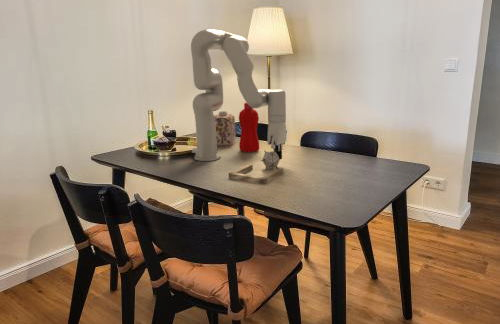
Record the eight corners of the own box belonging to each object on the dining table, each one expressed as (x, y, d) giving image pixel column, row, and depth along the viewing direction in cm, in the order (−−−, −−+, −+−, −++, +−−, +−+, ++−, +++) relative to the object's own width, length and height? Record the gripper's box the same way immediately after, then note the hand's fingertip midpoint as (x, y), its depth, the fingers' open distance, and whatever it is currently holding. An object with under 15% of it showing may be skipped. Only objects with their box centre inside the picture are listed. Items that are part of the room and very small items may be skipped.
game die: (273, 177, 177) (277, 164, 169) (256, 169, 179) (259, 155, 170) (282, 163, 182) (285, 149, 174) (265, 155, 183) (268, 141, 175)
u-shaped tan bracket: (228, 177, 165) (228, 173, 165) (248, 168, 178) (248, 164, 177) (264, 184, 157) (264, 179, 156) (282, 173, 169) (282, 169, 169)
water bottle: (247, 154, 202) (246, 104, 196) (237, 150, 211) (236, 102, 205) (263, 152, 207) (262, 103, 200) (252, 147, 216) (251, 101, 209)
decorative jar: (216, 141, 235) (214, 110, 230) (235, 141, 233) (234, 110, 229) (212, 145, 223) (210, 113, 218) (232, 145, 222) (231, 113, 217)
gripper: (277, 115, 184) (278, 154, 189) (261, 120, 172) (262, 162, 177) (292, 116, 180) (292, 156, 185) (277, 121, 168) (277, 164, 173)
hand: (278, 158), depth 181 cm, fingers closed
